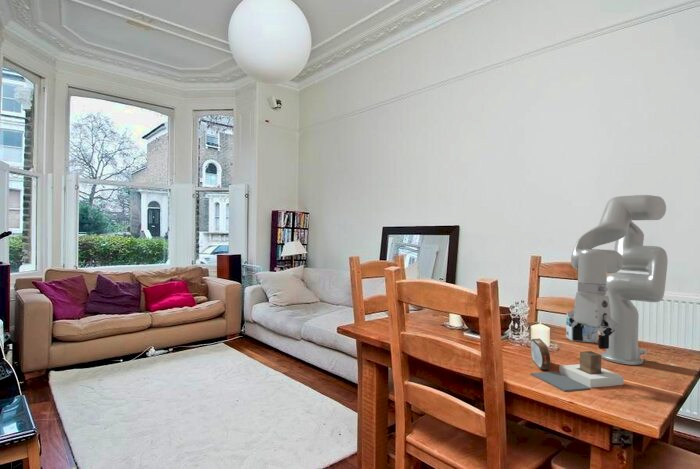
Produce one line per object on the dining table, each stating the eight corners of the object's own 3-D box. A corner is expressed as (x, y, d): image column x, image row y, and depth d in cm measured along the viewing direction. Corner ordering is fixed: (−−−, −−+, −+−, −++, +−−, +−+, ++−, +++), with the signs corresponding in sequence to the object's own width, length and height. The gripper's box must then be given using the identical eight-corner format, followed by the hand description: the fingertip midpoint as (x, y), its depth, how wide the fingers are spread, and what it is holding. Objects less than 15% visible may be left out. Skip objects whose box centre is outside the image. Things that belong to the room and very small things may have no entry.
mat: (554, 372, 127) (554, 371, 127) (590, 389, 113) (590, 387, 113) (530, 374, 125) (530, 373, 125) (564, 391, 111) (564, 390, 111)
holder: (589, 371, 129) (590, 363, 129) (623, 384, 117) (623, 376, 117) (559, 373, 126) (559, 365, 126) (590, 387, 114) (590, 379, 114)
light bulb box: (571, 341, 167) (571, 316, 167) (565, 337, 173) (565, 313, 173) (598, 342, 165) (599, 317, 165) (591, 338, 171) (591, 314, 172)
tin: (551, 373, 126) (551, 347, 126) (540, 372, 127) (541, 346, 127) (538, 359, 141) (538, 335, 141) (529, 358, 141) (529, 335, 141)
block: (590, 376, 124) (590, 351, 124) (600, 380, 120) (601, 354, 120) (579, 377, 123) (580, 351, 123) (590, 381, 119) (590, 355, 119)
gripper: (627, 293, 114) (625, 351, 114) (579, 286, 131) (577, 337, 130) (606, 292, 112) (604, 352, 112) (560, 285, 129) (558, 337, 129)
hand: (589, 344), depth 121 cm, fingers open, 9 cm apart
